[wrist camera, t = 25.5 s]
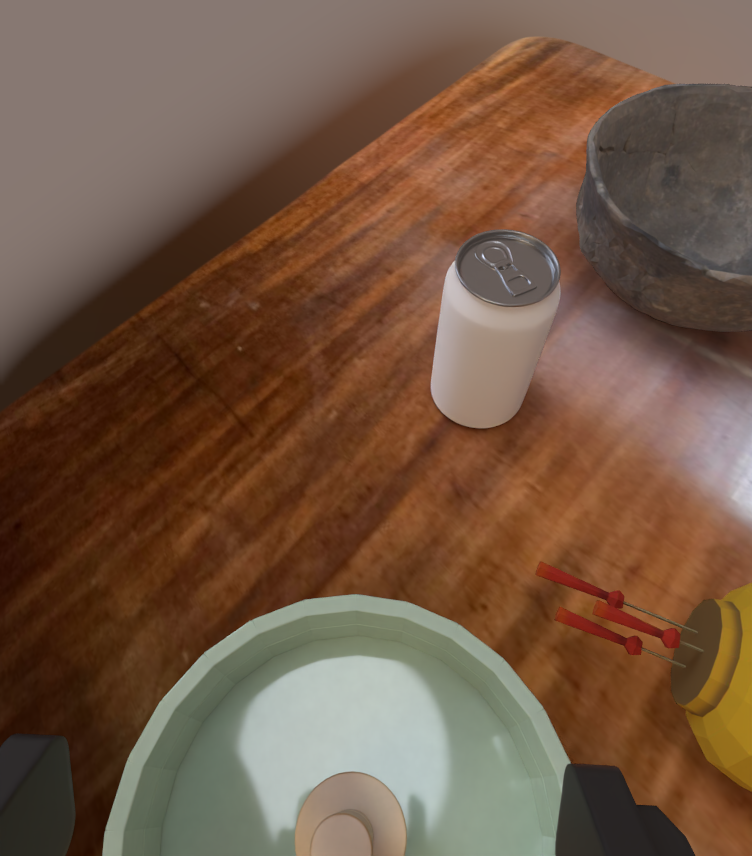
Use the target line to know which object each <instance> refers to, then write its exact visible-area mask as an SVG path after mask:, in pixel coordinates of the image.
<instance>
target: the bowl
mask: <svg viewBox="0 0 752 856" xmlns="http://www.w3.org/2000/svg"><path fill="white" fill-rule="evenodd" d="M576 215H577V222H578V231H579V235H580V249H581V252H582V253H583V255H584V256H585V258H586V259H587V260H588V261H589V262H590V263H591V265H592V266H593V268H594V269H595V270H596V272H597V273H598V274H599V275H600V277H601V278H602V279H603V280H604V282H605V283H606V284H607V286H608V287H609V288H610V289H611V290H612V291H614V292H615V294H616V295H618V296H619V297H620V298H621V299H622V300H624V301H625V302H626V303H628V304H629V305H631V306H632V307H633V308H634V309H636V310H638V311H640V312H642V313H646V314H648V315H649V316H651V317H653V318H654V319H657V320H660V321H663V322H666V323H668V324H671V325H675V326H679V327H684V328H694V329H701V330H706V331H719V332H734V331H748V330H752V87H748V86H735V85H729V84H672V85H664V86H660V87H657V88H654V89H651V90H649V91H646V92H643V93H640V94H637V95H635V96H632V97H630V98H628V99H626V100H624V101H622V102H620V103H618V104H617V105H615V106H614V107H612V108H611V109H609V110H608V111H607V112H606V113H605V114H604V115H603V116H601V117H600V118H599V120H598V121H597V122H596V123H595V125H594V126H593V128H592V129H591V131H590V133H589V135H588V139H587V163H586V174H585V177H584V180H583V183H582V186H581V188H580V192H579V195H578V199H577V203H576Z"/></svg>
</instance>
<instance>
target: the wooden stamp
mask: <svg viewBox="0 0 752 856" xmlns="http://www.w3.org/2000/svg"><path fill="white" fill-rule="evenodd" d="M406 846H407V829H406V822H405V818H404V814H403V811H402V809H401V806H400V804H399V802H398V800H397V799H396V797H395V795H394V794H393V793H392V791H391V790H390V789H389V788H388V787H387V786H386V785H385V784H384V783H382V782H381V781H380V780H378V779H377V778H375V777H373V776H371V775H368V774H365V773H361V772H353V771H352V772H343V773H338V774H335V775H333V776H331V777H329V778H327V779H325V780H324V781H322V782H321V783H320V784H318V785H317V786H316V787H315V788H314V789H313V790H312V792H311V793H310V794H309V795H308V797H307V798H306V800H305V802H304V804H303V806H302V808H301V810H300V813H299V815H298V819H297V823H296V828H295V852H296V856H405V852H406Z"/></svg>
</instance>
